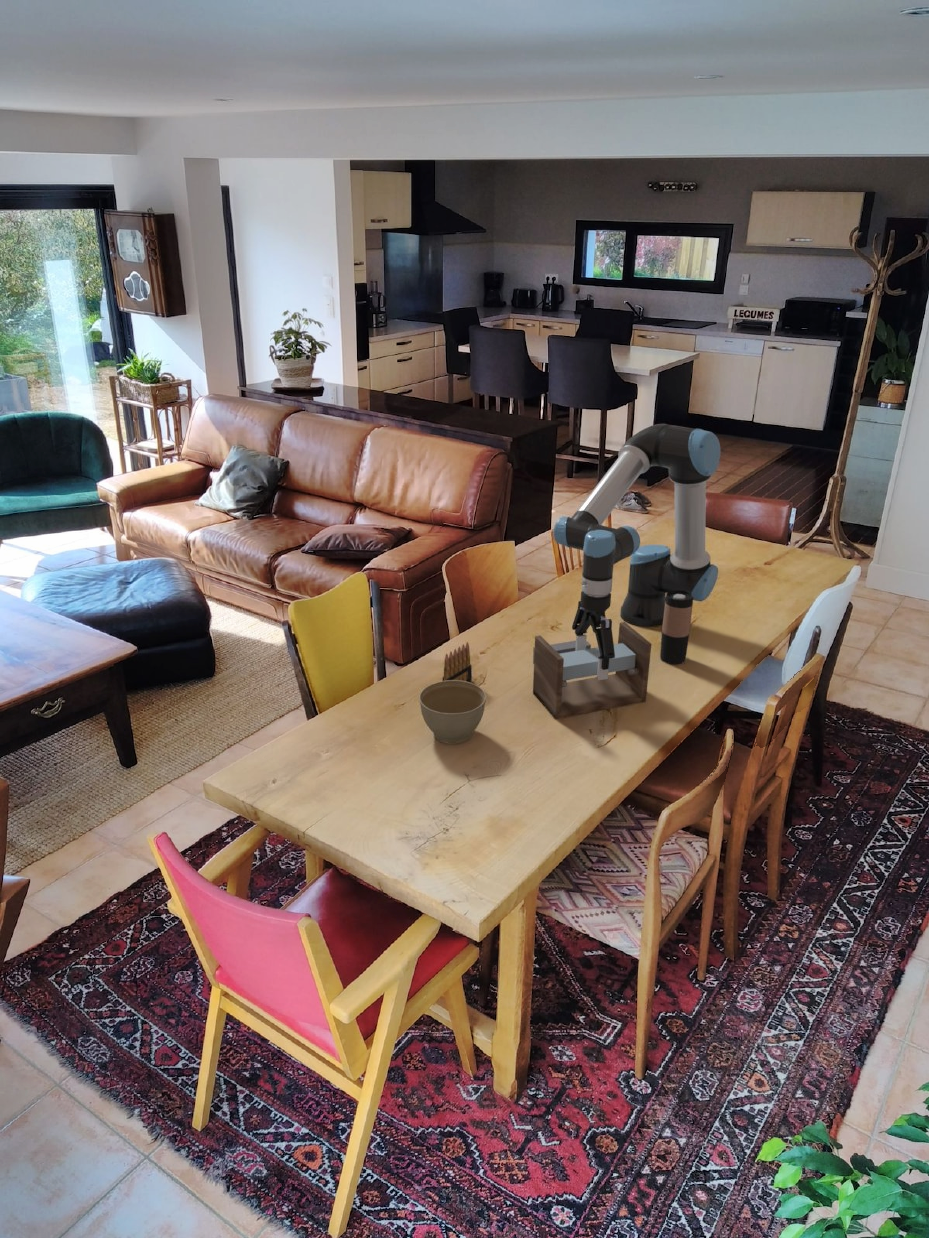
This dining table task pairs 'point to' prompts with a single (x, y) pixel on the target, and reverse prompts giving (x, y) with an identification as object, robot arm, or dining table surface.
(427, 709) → the planter bowl
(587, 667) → the shelf board
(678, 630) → the travel mug
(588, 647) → the grey rectangular block
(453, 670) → the ammunition clip
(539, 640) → the shelf frame
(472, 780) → the dining table surface
